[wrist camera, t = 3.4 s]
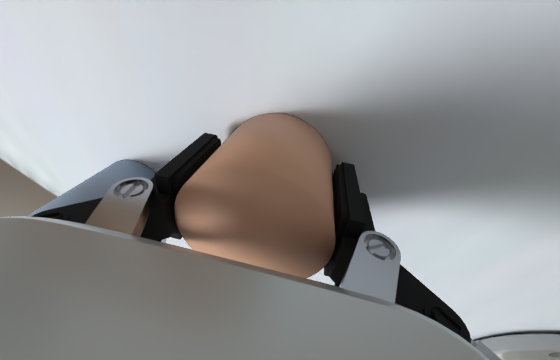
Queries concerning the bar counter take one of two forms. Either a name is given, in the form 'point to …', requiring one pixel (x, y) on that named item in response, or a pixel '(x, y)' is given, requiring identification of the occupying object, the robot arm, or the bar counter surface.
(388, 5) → the bar counter surface
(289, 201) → the tan rounded lump
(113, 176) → the blue-grey rounded cylinder
